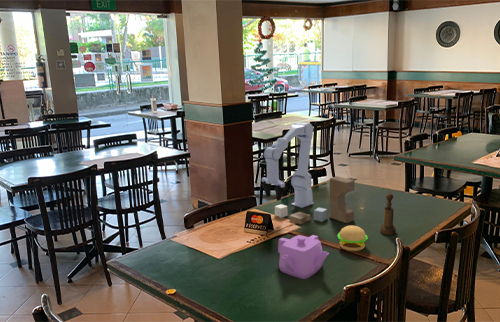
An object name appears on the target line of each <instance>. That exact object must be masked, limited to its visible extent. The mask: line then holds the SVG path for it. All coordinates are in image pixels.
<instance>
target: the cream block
mask: <svg viewBox="0 0 500 322" xmlns="http://www.w3.org/2000/svg"><path fill="white" fill-rule="evenodd" d="M275 215H276V217H277V216H279V217H278V218H280V217H281V218H280V219H282V218H284V217H288V205H285V204H283V203H281V204H278V205H275V206H274V216H275Z"/></svg>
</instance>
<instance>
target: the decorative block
mask: <svg viewBox="0 0 500 322" xmlns="http://www.w3.org/2000/svg"><path fill="white" fill-rule="evenodd" d="M355 185H356V184H355V180H354V179H348V178H345V177H341V176H333V177H331V178H329V196H328V197H329V201H328V203H329V204H328V205H329V211H328V212H329V213H328V215H329V218H330V219H333V220H335V221H338V222H341V223H344V224H349V223H351V222H354V220H355V219H354V214H355V211H354V210H352V209H350V208H349V207H348V205H347V203H346V195H347V193H350V192H354V191H355Z"/></svg>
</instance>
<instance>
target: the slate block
mask: <svg viewBox="0 0 500 322" xmlns="http://www.w3.org/2000/svg"><path fill="white" fill-rule="evenodd" d="M327 219H328V209H327V208H323V207H317V208H315V209H314V210H313V220H314V221H318V222H324V221H326V220H327Z"/></svg>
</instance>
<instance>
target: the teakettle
mask: <svg viewBox="0 0 500 322" xmlns="http://www.w3.org/2000/svg"><path fill="white" fill-rule="evenodd" d="M277 253H279V259H278V260H279V262H278V263H279V265H278V266H279V270H280V272H282V273H284V274H287V275H289V276H291V277H295V278H298V279H300V280H306V279H308V278H310V277H312V276H314V275H315V274H316V273H317V272H318V271H319V270H321V268H322V266H323V264H324V261H325V259H326V258H327V257H328V256H329V254H330V252H328V251H326V250H323V247H322V242H321V241H320V240H319V236H318V235H315V234H312V235H309V236H304V235H301V234H298V235H295V236H293V237H292V238H285V237H281V238H279V239H278V247H277Z"/></svg>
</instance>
